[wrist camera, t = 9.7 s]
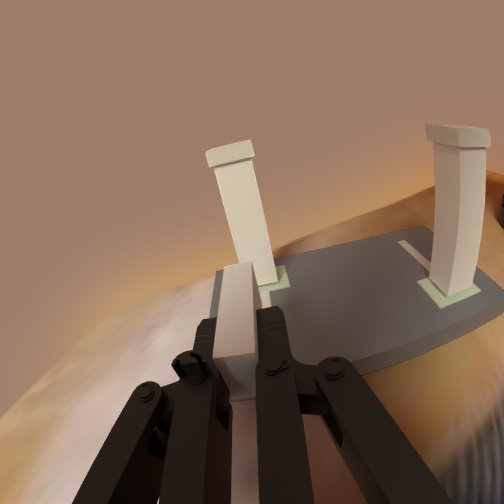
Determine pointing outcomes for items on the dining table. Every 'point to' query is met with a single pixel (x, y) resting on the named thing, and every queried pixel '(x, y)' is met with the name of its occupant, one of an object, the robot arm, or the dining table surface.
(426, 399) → the dining table surface
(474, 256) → the lever
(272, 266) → the lever
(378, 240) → the switch panel
